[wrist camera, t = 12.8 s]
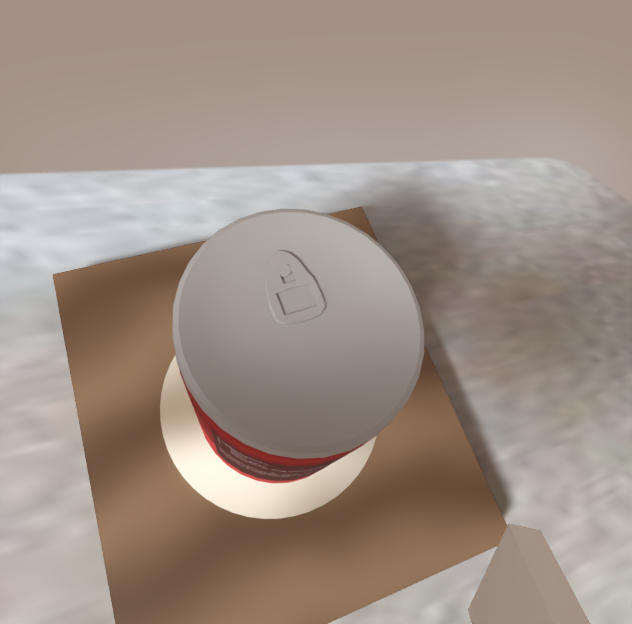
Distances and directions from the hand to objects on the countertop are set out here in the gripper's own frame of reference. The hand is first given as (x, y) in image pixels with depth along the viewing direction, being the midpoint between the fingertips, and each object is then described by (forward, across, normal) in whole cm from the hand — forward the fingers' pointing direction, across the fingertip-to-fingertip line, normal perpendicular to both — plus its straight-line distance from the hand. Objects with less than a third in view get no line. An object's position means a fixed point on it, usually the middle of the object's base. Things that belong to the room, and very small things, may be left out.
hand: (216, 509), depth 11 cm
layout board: (+14, +1, -6) cm, 15 cm away
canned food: (+13, +1, -5) cm, 14 cm away
